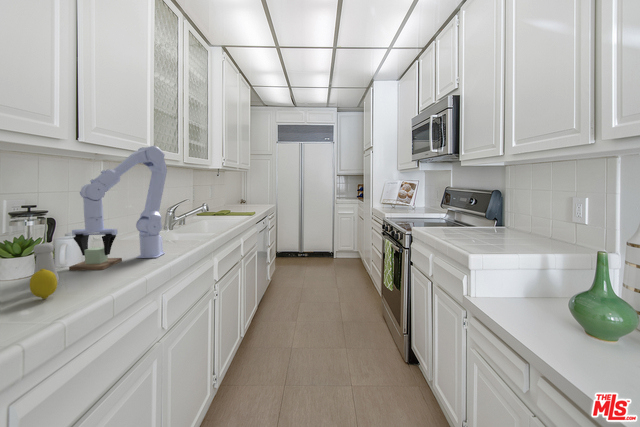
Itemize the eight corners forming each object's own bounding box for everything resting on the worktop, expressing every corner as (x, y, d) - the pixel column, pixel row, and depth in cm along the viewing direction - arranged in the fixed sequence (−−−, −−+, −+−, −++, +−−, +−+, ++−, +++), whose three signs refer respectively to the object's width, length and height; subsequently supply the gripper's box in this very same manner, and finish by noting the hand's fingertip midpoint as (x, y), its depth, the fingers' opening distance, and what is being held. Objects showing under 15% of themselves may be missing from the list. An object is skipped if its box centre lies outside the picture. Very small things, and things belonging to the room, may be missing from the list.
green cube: (93, 260, 124) (92, 247, 124) (107, 260, 125) (106, 247, 124) (85, 263, 119) (84, 250, 119) (100, 263, 120) (99, 249, 119)
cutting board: (91, 261, 128) (91, 258, 128) (121, 260, 129) (121, 257, 129) (69, 270, 115) (69, 266, 115) (102, 269, 116) (102, 266, 116)
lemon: (46, 302, 84) (44, 271, 83) (24, 302, 84) (22, 271, 83) (63, 295, 90) (61, 266, 89) (43, 295, 90) (40, 265, 89)
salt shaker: (38, 294, 90) (34, 246, 89) (29, 290, 94) (25, 244, 92) (63, 288, 95) (60, 243, 94) (54, 285, 98) (51, 241, 97)
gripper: (65, 218, 116) (67, 257, 117) (109, 218, 117) (111, 256, 118) (78, 216, 123) (80, 253, 124) (119, 216, 124) (121, 252, 125)
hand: (96, 254), depth 122 cm, fingers open, 7 cm apart
